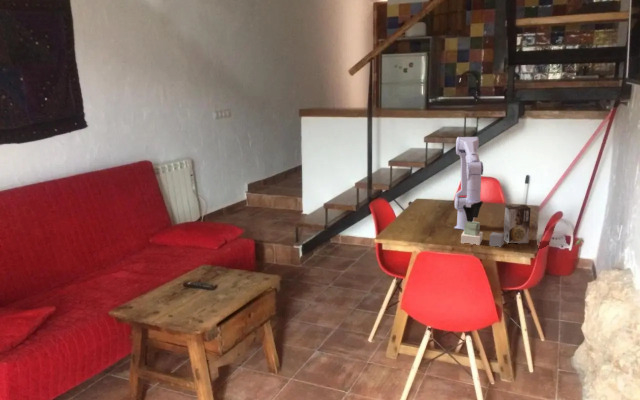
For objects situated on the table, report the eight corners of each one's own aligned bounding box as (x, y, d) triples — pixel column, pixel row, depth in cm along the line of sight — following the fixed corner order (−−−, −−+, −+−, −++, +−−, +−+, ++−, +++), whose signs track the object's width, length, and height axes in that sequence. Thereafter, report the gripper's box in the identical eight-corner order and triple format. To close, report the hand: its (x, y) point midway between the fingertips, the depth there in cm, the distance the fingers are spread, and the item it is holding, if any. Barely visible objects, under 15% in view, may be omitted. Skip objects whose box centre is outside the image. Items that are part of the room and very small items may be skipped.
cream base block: (463, 238, 232) (464, 230, 231) (482, 240, 229) (482, 232, 228) (460, 243, 225) (461, 235, 224) (479, 245, 222) (479, 237, 221)
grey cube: (492, 242, 224) (492, 232, 223) (503, 244, 222) (504, 233, 220) (489, 246, 220) (489, 235, 219) (501, 248, 217) (501, 236, 216)
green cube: (468, 231, 229) (469, 220, 228) (479, 233, 226) (479, 222, 225) (464, 234, 225) (464, 223, 224) (475, 235, 222) (475, 225, 221)
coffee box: (522, 238, 228) (525, 204, 224) (528, 243, 222) (531, 207, 218) (502, 239, 228) (504, 204, 224) (508, 244, 222) (510, 208, 218)
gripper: (469, 185, 229) (468, 214, 232) (459, 191, 217) (458, 222, 220) (485, 186, 225) (483, 216, 229) (476, 193, 213) (474, 224, 217)
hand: (472, 219), depth 224 cm, fingers open, 7 cm apart
